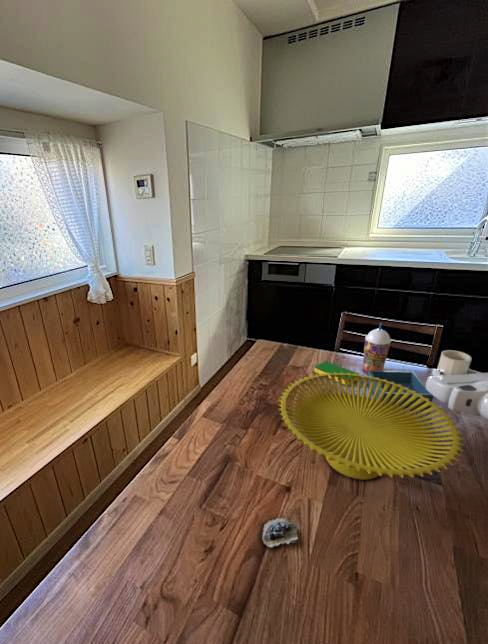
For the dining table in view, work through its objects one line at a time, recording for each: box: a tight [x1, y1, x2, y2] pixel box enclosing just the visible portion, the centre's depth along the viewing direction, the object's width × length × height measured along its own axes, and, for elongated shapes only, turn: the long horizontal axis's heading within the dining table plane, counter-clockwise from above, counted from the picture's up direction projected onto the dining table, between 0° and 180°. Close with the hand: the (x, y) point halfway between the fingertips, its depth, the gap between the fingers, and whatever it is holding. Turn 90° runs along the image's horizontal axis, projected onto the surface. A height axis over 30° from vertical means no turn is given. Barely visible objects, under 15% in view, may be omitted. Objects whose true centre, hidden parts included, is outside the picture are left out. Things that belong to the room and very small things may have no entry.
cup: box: [436, 349, 473, 376], centre depth 96 cm, size 7×7×12 cm
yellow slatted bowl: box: [277, 372, 465, 481], centre depth 86 cm, size 40×40×15 cm
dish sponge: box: [314, 360, 360, 387], centre depth 126 cm, size 7×14×2 cm, turn 37°
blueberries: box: [261, 517, 299, 548], centre depth 71 cm, size 7×8×2 cm
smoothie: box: [362, 322, 392, 374], centre depth 124 cm, size 8×8×20 cm
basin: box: [366, 370, 434, 409], centre depth 113 cm, size 15×15×5 cm
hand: (448, 370), depth 96 cm, fingers closed on cup, 7 cm apart
